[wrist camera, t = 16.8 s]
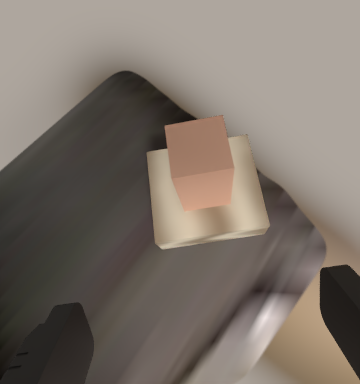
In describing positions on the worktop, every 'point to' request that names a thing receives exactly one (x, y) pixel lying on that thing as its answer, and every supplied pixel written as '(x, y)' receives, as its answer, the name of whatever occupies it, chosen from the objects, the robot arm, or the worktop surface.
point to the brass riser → (213, 216)
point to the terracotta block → (200, 162)
